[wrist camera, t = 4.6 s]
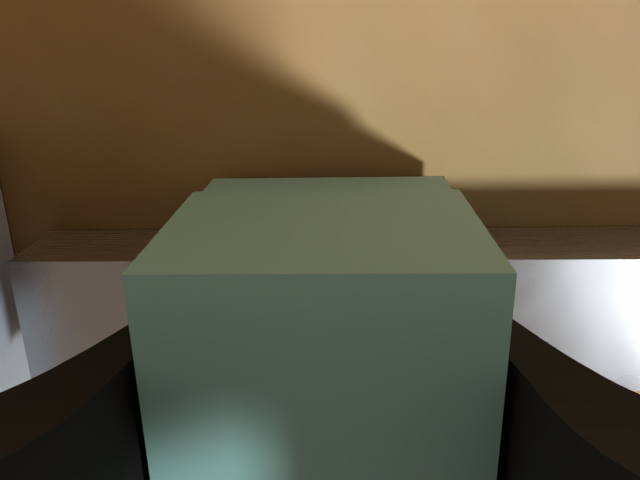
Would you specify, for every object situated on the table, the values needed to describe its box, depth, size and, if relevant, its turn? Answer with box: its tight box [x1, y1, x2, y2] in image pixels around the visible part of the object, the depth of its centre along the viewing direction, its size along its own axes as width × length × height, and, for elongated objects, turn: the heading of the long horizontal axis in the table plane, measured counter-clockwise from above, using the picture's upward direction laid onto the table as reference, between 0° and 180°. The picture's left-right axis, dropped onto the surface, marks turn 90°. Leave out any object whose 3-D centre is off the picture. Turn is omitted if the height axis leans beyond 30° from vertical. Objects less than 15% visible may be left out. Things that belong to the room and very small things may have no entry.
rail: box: [7, 226, 640, 391], centre depth 13 cm, size 3×22×2 cm, turn 91°
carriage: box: [122, 176, 517, 480], centre depth 11 cm, size 6×5×6 cm
